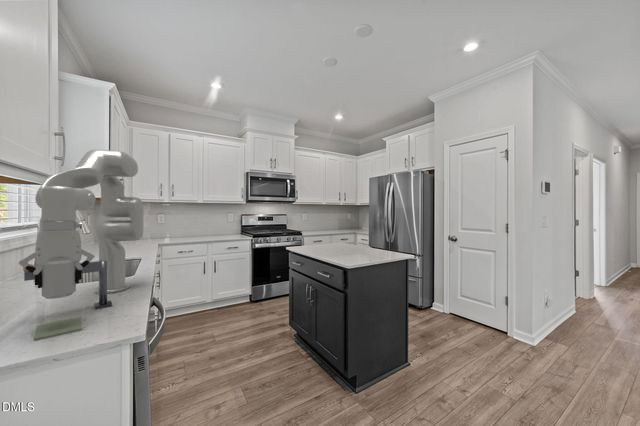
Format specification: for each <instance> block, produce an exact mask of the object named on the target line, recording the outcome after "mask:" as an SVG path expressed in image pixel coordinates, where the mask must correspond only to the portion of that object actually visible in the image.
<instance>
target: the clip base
mask: <svg viewBox="0 0 640 426" xmlns="http://www.w3.org/2000/svg"><path fill="white" fill-rule="evenodd" d="M109 307H110V308H111V307H113V302H112V300H107V303H104V304H99V301H98V302H93V308H94V310H99V309H104V308H109Z"/></svg>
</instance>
